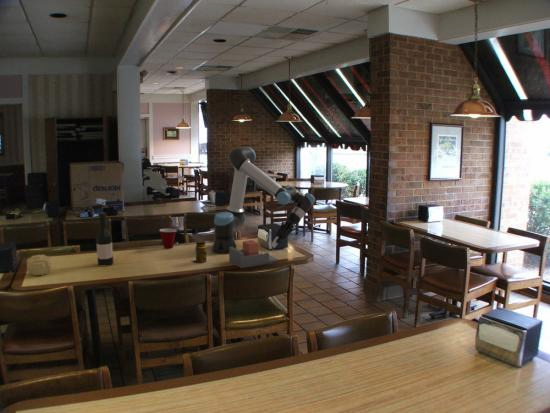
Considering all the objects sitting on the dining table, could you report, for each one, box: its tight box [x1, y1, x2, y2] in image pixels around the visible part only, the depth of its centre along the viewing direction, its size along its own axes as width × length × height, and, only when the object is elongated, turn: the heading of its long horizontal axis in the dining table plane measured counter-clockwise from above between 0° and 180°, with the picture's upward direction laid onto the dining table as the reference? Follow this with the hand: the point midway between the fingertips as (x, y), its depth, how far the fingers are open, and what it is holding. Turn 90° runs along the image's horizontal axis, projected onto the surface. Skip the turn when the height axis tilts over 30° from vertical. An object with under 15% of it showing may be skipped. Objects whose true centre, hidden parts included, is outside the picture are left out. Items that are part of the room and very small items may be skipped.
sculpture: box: [26, 254, 52, 276], centre depth 257 cm, size 12×12×11 cm
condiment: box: [190, 240, 210, 265], centre depth 278 cm, size 7×8×12 cm
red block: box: [242, 239, 260, 256], centre depth 277 cm, size 8×7×10 cm
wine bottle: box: [95, 211, 114, 266], centre depth 272 cm, size 8×8×30 cm
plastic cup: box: [159, 228, 177, 250], centre depth 307 cm, size 11×11×12 cm
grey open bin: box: [228, 247, 279, 269], centre depth 279 cm, size 15×24×8 cm, turn 121°
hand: (272, 246), depth 284 cm, fingers closed
